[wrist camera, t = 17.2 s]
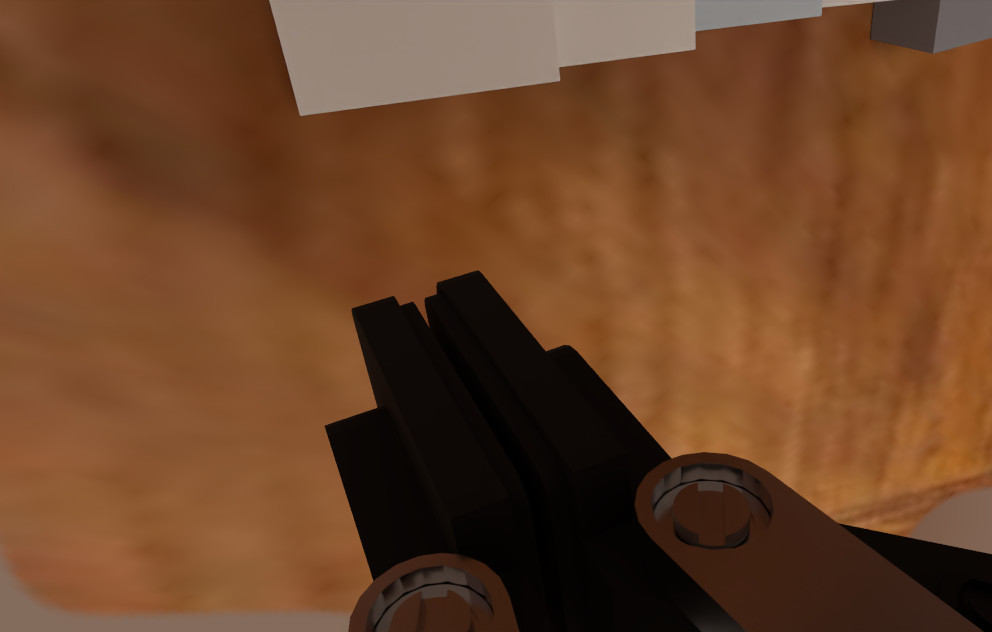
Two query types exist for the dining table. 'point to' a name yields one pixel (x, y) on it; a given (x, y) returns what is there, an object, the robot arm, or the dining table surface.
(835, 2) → the tile
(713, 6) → the tile
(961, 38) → the end block
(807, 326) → the dining table surface
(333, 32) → the end tile
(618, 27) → the tile
